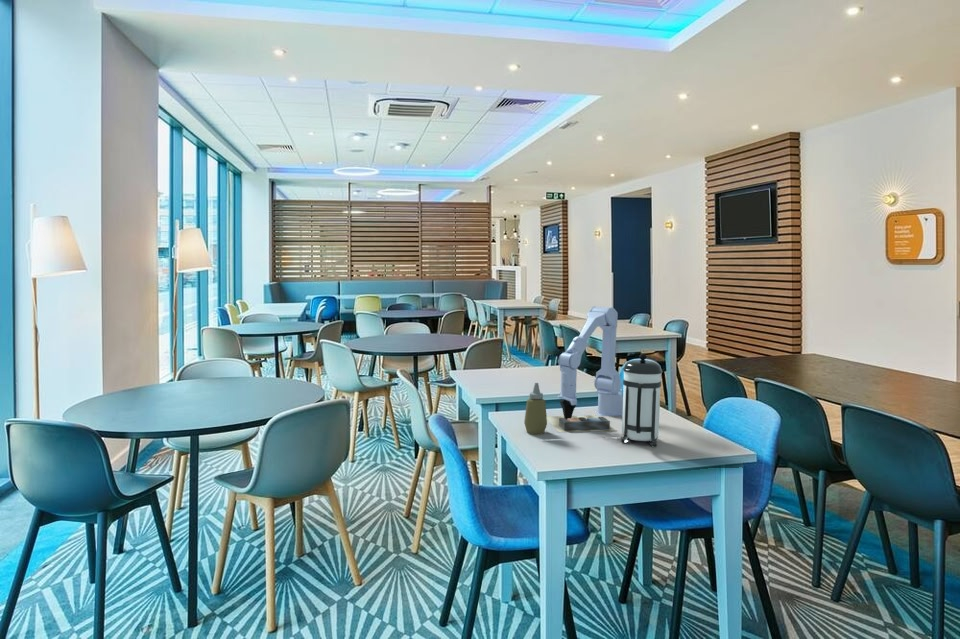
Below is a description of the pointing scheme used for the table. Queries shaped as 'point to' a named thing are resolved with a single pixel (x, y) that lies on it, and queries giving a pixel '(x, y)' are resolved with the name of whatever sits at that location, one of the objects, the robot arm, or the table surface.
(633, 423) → the coffee press
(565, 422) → the comb board
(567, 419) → the peach square block
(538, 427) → the squeeze bottle
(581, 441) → the table surface
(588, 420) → the slate-blue plug
